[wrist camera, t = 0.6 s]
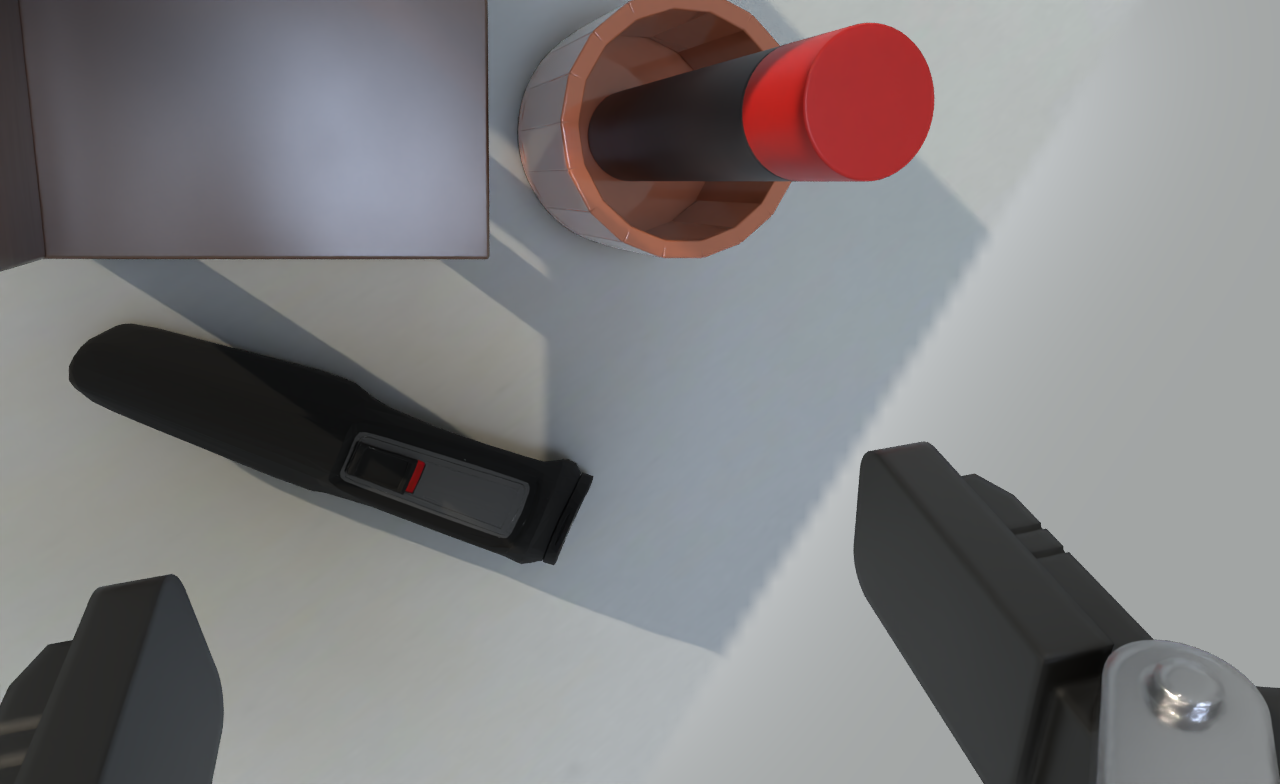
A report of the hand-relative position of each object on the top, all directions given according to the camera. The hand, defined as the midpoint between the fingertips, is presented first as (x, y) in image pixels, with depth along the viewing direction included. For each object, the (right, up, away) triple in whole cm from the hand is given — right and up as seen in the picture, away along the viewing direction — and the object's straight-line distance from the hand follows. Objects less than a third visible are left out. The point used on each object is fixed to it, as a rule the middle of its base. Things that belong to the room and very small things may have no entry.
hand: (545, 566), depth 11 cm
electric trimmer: (-8, 0, +19) cm, 20 cm away
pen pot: (+1, +10, +19) cm, 22 cm away
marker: (+1, +10, +19) cm, 21 cm away
